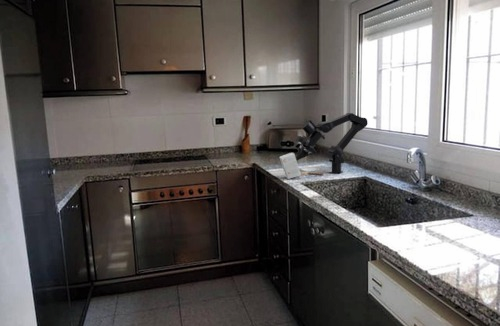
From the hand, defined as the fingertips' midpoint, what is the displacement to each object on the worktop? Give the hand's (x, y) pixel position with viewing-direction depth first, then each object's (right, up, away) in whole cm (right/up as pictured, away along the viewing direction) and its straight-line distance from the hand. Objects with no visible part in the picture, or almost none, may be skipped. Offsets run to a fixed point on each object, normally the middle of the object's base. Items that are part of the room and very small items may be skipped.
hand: (295, 160), depth 215 cm
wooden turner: (+9, -8, +9) cm, 15 cm away
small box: (-1, -9, +1) cm, 10 cm away
